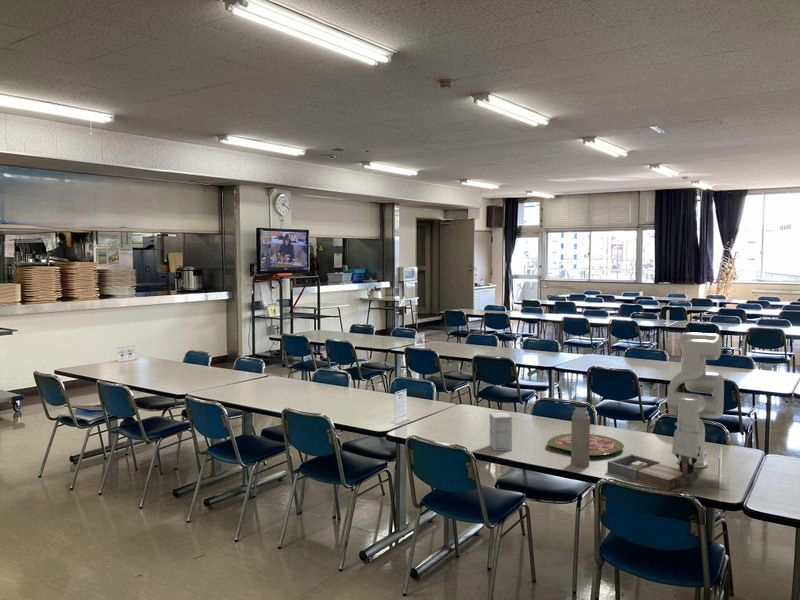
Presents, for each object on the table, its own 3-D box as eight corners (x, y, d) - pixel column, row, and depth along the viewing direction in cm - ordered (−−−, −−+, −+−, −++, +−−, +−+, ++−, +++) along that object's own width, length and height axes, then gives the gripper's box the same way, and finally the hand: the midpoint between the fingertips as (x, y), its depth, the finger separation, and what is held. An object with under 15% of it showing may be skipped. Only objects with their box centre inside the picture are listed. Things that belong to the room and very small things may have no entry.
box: (631, 463, 286) (631, 454, 286) (659, 471, 275) (659, 461, 275) (607, 471, 275) (607, 461, 275) (636, 480, 264) (636, 470, 264)
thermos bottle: (589, 462, 287) (590, 402, 286) (589, 468, 280) (590, 406, 278) (571, 461, 290) (571, 401, 288) (570, 467, 282) (571, 405, 280)
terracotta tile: (647, 463, 276) (647, 469, 276) (637, 460, 280) (637, 466, 280) (641, 466, 273) (641, 471, 273) (631, 463, 277) (631, 468, 277)
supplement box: (507, 445, 316) (508, 412, 315) (512, 450, 306) (512, 416, 305) (489, 445, 315) (489, 412, 314) (493, 451, 306) (493, 417, 305)
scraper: (692, 477, 261) (692, 445, 260) (697, 479, 259) (698, 446, 258) (674, 485, 253) (674, 452, 252) (680, 487, 251) (680, 453, 250)
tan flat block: (658, 472, 274) (658, 463, 274) (689, 481, 263) (689, 472, 263) (637, 480, 265) (637, 470, 265) (668, 489, 254) (668, 480, 253)
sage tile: (643, 473, 270) (637, 472, 272) (643, 462, 270) (638, 461, 272) (636, 476, 267) (631, 474, 269) (636, 464, 267) (631, 463, 269)
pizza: (537, 447, 312) (537, 443, 311) (572, 433, 336) (572, 429, 336) (602, 463, 287) (602, 458, 287) (636, 447, 312) (636, 442, 312)
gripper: (664, 425, 259) (663, 468, 260) (702, 433, 246) (701, 479, 247) (673, 422, 263) (672, 465, 264) (712, 430, 250) (710, 475, 252)
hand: (686, 471), depth 256 cm, fingers closed on scraper, 2 cm apart
